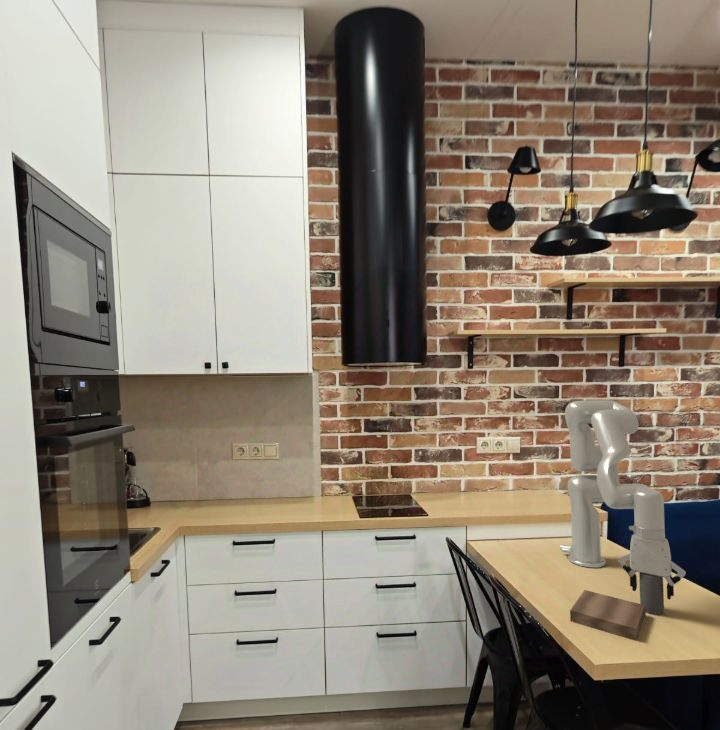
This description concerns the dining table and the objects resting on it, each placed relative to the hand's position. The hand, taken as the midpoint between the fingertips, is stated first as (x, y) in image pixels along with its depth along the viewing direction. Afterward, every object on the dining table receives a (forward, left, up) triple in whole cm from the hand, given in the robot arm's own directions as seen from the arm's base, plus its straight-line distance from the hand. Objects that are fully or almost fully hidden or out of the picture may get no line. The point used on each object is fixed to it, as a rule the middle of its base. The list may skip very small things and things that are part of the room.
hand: (651, 593), depth 135 cm
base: (-9, -13, -5) cm, 17 cm away
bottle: (0, 0, -5) cm, 5 cm away
